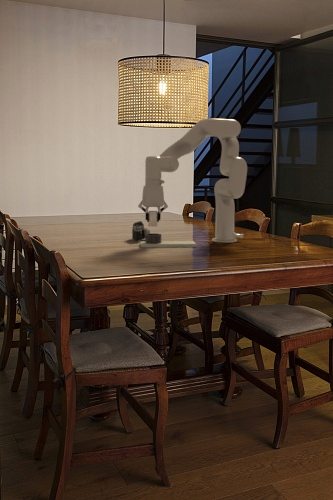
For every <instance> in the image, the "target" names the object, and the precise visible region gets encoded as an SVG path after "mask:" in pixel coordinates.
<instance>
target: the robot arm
mask: <svg viewBox="0 0 333 500" xmlns="http://www.w3.org/2000/svg"><path fill="white" fill-rule="evenodd" d="M241 130H242V126H241V124H240V122H239V121H237V120H236V119H227V118H213V117H211V118H203V119H201V120H199V121H197V122H196V123H195V124H194V125H193V126H192V127H191V128H190V129H189V130H188V131H187V132H186V133H185V134H184V135H183V136H182V137H181V138H180V139H178V140H177V141H175V142H174V143H172V144H171V145H170V146H169V147H166V149H165V150H163V152H162V153H160V155H158V156H156V155H155V156H153V155H152V156H151V155H150V156H146V158H145V162H144V163H145V165H144V167H145V169H144V170H145V173H144V174H145V184H144V185H143V187H142V188H143V189H142V196H141V197H142V199H141V201H140V203H139V204H138V206H137V207H138V208H140V209H141V210H142V211H143V212H144V214H145V221H146V222H147V223H148V222H149V213H148V211H149V208H157V211H158V220H157V222H158V223H159V222H160V221H161V218H162V217H161V213H162V212H164V211H165V210H167V209H168V208H169V205H168V204H167V202H166V201H165V200H164V199H165V196H164V194H165V193H164V186H163V185H162V184H165V180H163V179H162V173H174V172H176V171H177V170H178V169H179V166H180V162H179V159H180V158H181V157H184V156H186V155H188V154H191V153H193V152H195V151H196V149H197V148H198V147H199V146H200V145H201V144H203V142H204V141H205V140H206V139H207V138H208V137H209V138H210V137H211V138H212V137H216V138H218V139H219V141H220V144H221V156H220V162H219V172H220V173H221V175H223V176H226V177H228V178H221V179H219V180H218V181H216V182H215V185H214V188H213V189H214V191H213V192H214V193H213V194H214V197H215V198H214V199H215V223H214V225H215V226H214V227H215V228H214V229H215V231H214V234H215V235H214V236H215V237H213V238H212V239H211V241H212V242H214V243H225V244H227V243H228V244H230V243H236V242H237V241H238V238H239V239H242V238H243V239H244V234H243V233H236V232H235V213H236V212H235V209H236V207H235V200H234V199H239V198H241V197H242V196H243V194H244V193H245V189H246V182H247V176H248V175H247V174H248V165H247V161H246V160H245V159H244V158H242V157H239V154H240V153H239V152H240V144H239V140H238V136H239V135H240V133H241Z"/></svg>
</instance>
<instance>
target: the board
mask: <svg viewBox="0 0 333 500" xmlns="http://www.w3.org/2000/svg"><path fill="white" fill-rule="evenodd" d="M140 247H141V248H197V243H196V242H195V241H194V240H171V241H170V240H165V241H163V240H161V243H159V244H148V243H145V240H142V241H141V242H140Z"/></svg>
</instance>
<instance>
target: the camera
mask: <svg viewBox="0 0 333 500" xmlns="http://www.w3.org/2000/svg"><path fill="white" fill-rule="evenodd" d="M131 228H132V229H131V231H132V232H131V234H132V237H131V238H132V241H134V242H135V243H138V242H140V243H141V241H143V240H145V234H150V233H151V230H150V229H148V228H147V227H145V224H144V223H143V222H142V221H141V220H140V221H136V222H133V224H132V227H131Z"/></svg>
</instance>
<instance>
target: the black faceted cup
mask: <svg viewBox="0 0 333 500" xmlns="http://www.w3.org/2000/svg"><path fill="white" fill-rule="evenodd" d="M144 241H145V243H148V244H159V243H161V241H162V233H156V232H154V233H151V232H150V234H145V239H144Z"/></svg>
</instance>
